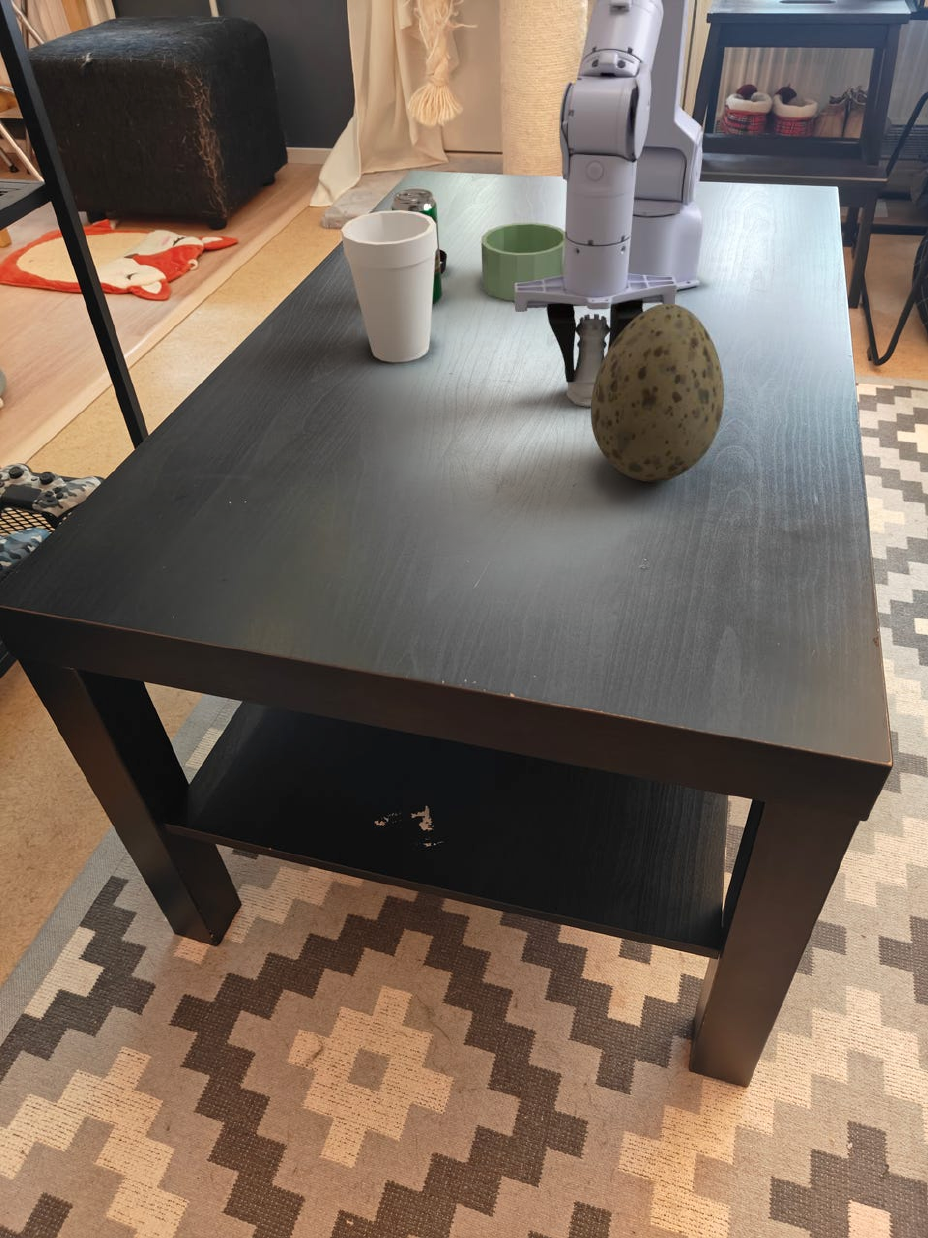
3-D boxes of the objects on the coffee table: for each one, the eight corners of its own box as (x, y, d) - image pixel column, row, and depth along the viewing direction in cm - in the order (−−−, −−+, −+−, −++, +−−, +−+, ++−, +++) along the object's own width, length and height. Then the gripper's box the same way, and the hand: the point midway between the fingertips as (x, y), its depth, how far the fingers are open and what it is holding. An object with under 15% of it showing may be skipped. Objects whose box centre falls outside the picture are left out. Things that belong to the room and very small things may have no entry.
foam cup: (377, 377, 94) (362, 251, 85) (344, 343, 100) (327, 222, 91) (458, 354, 96) (451, 230, 88) (421, 322, 103) (412, 204, 94)
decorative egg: (732, 462, 79) (764, 297, 69) (673, 523, 73) (698, 351, 63) (626, 427, 84) (641, 268, 74) (563, 481, 78) (569, 316, 68)
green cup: (545, 261, 114) (546, 217, 110) (580, 291, 107) (582, 245, 103) (470, 276, 112) (469, 230, 108) (501, 307, 105) (500, 260, 101)
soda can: (437, 310, 105) (430, 203, 97) (395, 308, 106) (385, 201, 98) (446, 292, 108) (440, 187, 100) (405, 290, 109) (396, 186, 101)
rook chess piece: (599, 412, 86) (604, 334, 81) (558, 401, 88) (560, 324, 83) (619, 392, 89) (625, 314, 84) (578, 381, 91) (582, 305, 85)
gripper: (516, 255, 75) (517, 400, 84) (690, 247, 75) (671, 393, 84) (513, 224, 80) (513, 364, 90) (675, 217, 80) (659, 358, 89)
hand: (589, 376), depth 87 cm, fingers closed on rook chess piece, 3 cm apart
